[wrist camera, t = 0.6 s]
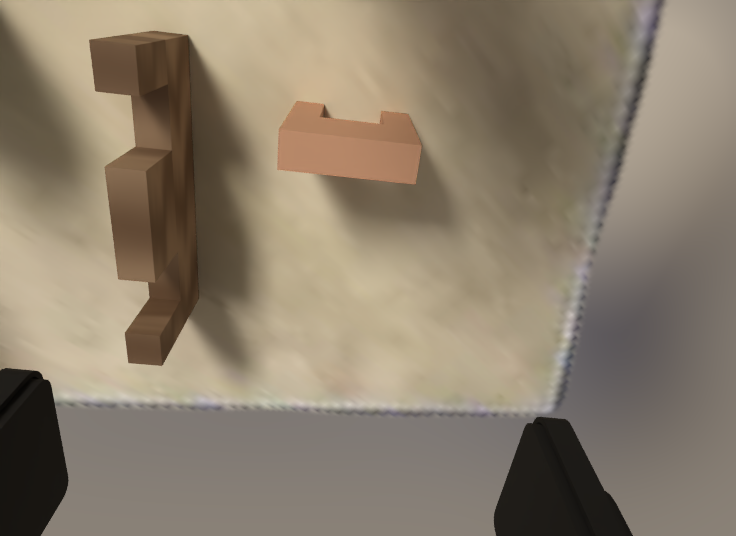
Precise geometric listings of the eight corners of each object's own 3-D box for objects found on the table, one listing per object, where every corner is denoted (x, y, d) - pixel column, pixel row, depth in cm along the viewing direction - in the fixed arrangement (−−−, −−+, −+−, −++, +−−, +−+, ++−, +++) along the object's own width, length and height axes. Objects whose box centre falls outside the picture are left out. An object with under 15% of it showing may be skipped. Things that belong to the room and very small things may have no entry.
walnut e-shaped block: (153, 31, 30) (89, 39, 23) (188, 35, 30) (135, 45, 23) (171, 295, 38) (128, 362, 31) (198, 298, 38) (162, 365, 31)
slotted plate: (296, 101, 32) (278, 129, 25) (408, 114, 32) (421, 145, 25) (295, 133, 33) (277, 169, 26) (403, 145, 33) (415, 184, 26)
